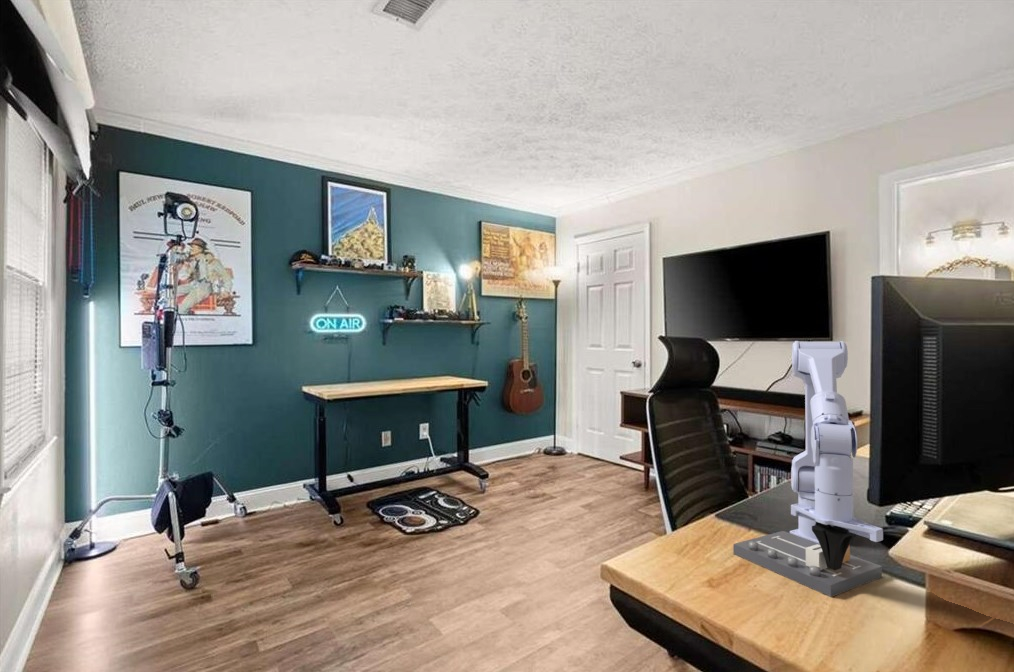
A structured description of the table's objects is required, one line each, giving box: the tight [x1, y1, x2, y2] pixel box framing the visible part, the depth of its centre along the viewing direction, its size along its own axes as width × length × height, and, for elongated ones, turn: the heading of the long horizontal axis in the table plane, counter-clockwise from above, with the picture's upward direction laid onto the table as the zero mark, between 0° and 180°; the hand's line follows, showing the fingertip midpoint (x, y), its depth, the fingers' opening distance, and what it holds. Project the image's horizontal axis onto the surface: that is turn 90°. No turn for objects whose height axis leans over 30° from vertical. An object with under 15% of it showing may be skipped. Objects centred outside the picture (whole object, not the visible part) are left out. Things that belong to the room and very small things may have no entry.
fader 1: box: [806, 544, 827, 570], centre depth 89 cm, size 4×2×3 cm, turn 117°
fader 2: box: [842, 544, 851, 563], centre depth 92 cm, size 4×2×3 cm, turn 117°
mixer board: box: [732, 530, 883, 598], centre depth 95 cm, size 16×19×3 cm
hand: (834, 567), depth 87 cm, fingers closed
